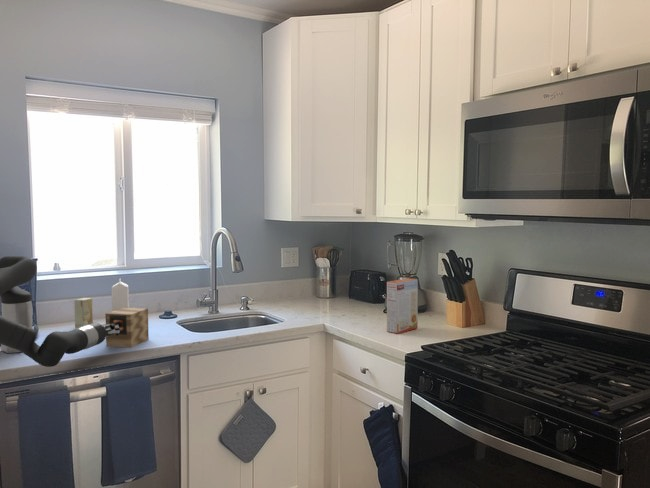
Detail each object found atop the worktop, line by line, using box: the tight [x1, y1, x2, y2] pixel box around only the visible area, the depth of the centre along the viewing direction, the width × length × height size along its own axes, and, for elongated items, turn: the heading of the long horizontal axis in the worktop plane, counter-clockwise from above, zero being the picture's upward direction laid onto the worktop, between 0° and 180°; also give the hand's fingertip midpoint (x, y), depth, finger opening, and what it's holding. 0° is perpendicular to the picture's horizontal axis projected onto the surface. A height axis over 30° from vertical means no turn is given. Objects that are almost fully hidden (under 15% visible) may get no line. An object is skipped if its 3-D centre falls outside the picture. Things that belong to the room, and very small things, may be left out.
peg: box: [114, 319, 124, 330], centre depth 202 cm, size 12×4×4 cm, turn 168°
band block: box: [105, 307, 150, 348], centre depth 202 cm, size 12×10×12 cm
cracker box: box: [386, 277, 419, 334], centre depth 222 cm, size 14×6×21 cm, turn 134°
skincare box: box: [74, 297, 94, 330], centre depth 226 cm, size 6×4×12 cm
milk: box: [111, 277, 130, 312], centre depth 217 cm, size 6×6×22 cm
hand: (117, 325), depth 196 cm, fingers closed
